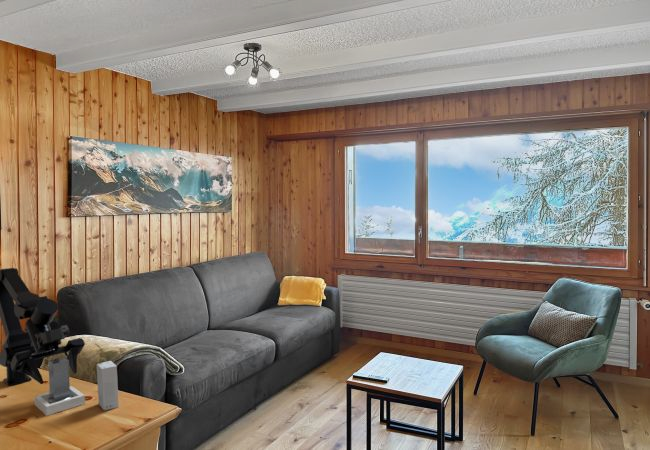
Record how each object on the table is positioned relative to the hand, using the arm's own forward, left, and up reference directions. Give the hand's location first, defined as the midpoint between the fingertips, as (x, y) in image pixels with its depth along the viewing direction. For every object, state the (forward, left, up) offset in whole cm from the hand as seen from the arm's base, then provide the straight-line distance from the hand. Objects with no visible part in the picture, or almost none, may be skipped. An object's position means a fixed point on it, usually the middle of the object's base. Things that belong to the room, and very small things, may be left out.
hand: (59, 378), depth 133 cm
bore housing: (0, 0, -8) cm, 8 cm away
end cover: (0, 0, -8) cm, 8 cm away
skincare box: (+11, +9, -8) cm, 16 cm away
